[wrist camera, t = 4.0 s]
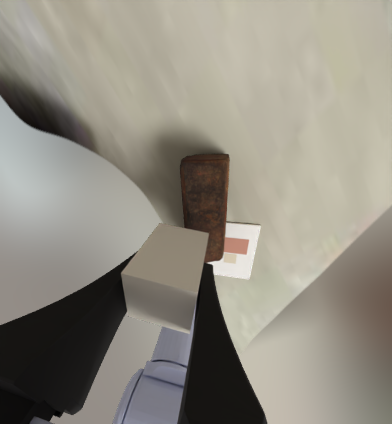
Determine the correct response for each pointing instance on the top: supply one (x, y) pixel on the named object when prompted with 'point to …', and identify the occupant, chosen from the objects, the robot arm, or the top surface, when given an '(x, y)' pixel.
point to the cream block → (166, 277)
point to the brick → (206, 199)
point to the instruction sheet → (238, 250)
